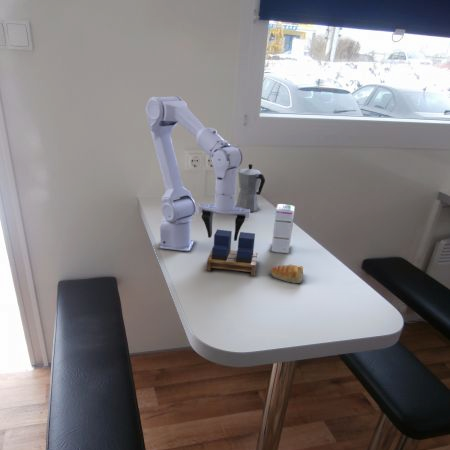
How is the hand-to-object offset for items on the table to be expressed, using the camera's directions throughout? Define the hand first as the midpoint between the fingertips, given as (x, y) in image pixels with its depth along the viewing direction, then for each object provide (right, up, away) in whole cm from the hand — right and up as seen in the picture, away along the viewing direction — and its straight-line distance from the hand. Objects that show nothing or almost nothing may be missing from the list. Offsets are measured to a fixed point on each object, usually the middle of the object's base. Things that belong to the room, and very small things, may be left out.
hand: (222, 238), depth 120 cm
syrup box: (+19, -1, +16) cm, 25 cm away
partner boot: (+6, -6, +1) cm, 9 cm away
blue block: (-1, -5, +1) cm, 5 cm away
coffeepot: (+10, +19, +49) cm, 54 cm away
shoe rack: (+3, -8, +3) cm, 9 cm away
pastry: (+19, -12, -1) cm, 23 cm away
